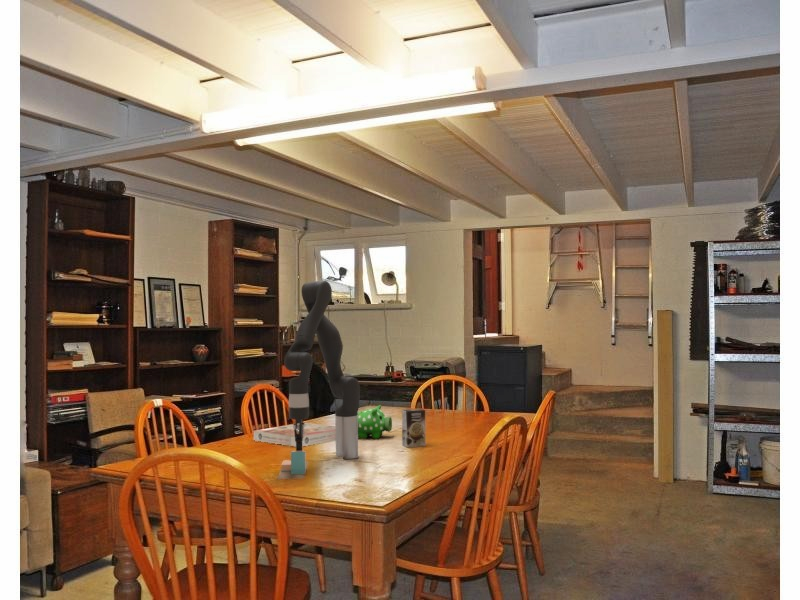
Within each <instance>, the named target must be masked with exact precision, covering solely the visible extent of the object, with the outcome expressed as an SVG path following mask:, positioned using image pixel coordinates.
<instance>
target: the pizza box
mask: <svg viewBox="0 0 800 600" xmlns="http://www.w3.org/2000/svg"><path fill="white" fill-rule="evenodd" d="M304 423H305V427H304V435H303V441H302V448H304V447H303V446H306V447H309V446H308V445H311V446H313V444H315V445H320V444H324V443H330V442H336V427H335V425H328V424H327V425H326V424H320V423H310V422H304ZM293 424H294V423H291V424H286V425H279V426H274V427H269V428H267V427H266V428H263V429H262V428H261V429H256V430H253V441H254V440H255V441H254V442H258V441H261V442H260V443H264V442H268V443H267V444H271V443H275V444H274V445H277V444H282V445H281V446H283V445H289V446H288V447H290V446H294V447H293V448H296V441H295V436H294V428H293ZM319 443H320V444H319Z"/></svg>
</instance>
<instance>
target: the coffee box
mask: <svg viewBox="0 0 800 600" xmlns="http://www.w3.org/2000/svg"><path fill="white" fill-rule="evenodd" d="M401 412H402V413H401V417H402V418H401V419H402V420H401V426H402V427H401V429H402V430H401V433H402V435H401V444H402V446H404V447H405V448H417V447H425V446H426V410H425V409H421V408H415V409H414V408H413V409H411V408H410V409H402V410H401Z"/></svg>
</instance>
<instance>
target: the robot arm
mask: <svg viewBox="0 0 800 600" xmlns="http://www.w3.org/2000/svg"><path fill="white" fill-rule="evenodd" d="M332 291H333V289H332V286H331V284H330V282H328V281H327V280H324V279H323V280H321V279H320V280H316V281H309V282H305V283H304V284H303V285H302V286H301V291H300V292H301V297H302V300H303V303H304V305H305V308H306V310H307V313H308V314H307V315H306V316H305V318H304V319H303V320H302V321H301V323H300V324H299V327H298V329H297V332H296V335H295V339H294V341H293V343H292V345H291V346H290V348H289V349H288V350H287V353H286V354H285V356H284V360H283V361H284V367H285V369H286V370H287V371H289V372H300V373H299V375H298V376H296V377H291V378H290V379H289V381H288V382H289V387H288V390H289V394H288V395H289V396H288V418H289V420H295V422H293V423H292V424H293V428H294V436H295V441H296V447H295V451H302V450H303V447H302V441H303V435H304V427H305V423H306V422H303V420H306V419H309V417H310V397H309V380H310V376H311V371H312V368H313V362H314V359H313V356H312V355H311V353H309V352H306V351H310V350H312V347H313V346H314V341H315V339H316V338H317V342H318V345H319V348H320V352H321V354H322V357H323V361H324V365H325V368H326V372H327V377H328V382H329V386H330V387H329V388H330V390H331V393H332V395H333V396H334V398H337V399H341V400H342V404H341V405H340V406H339V407H337V408H336V409H335V410H334V411H335V412H334V414H335V425H334V426H335V427H336V440H335V456H336V457H342V458H343V460H351V459H359V437H358V412H359V408H360V398H361V395H360V394H361V390H360V389H361V388H360V383H359V380H358V379H357V378H356V377H353V376H345V375H344V373H343V369H342V366H341V365H342V364H341V360H342V355H343V349H344V345H343V341H342V338H341V333H340V332H339V330H338V328H337V326H336V325H335V324H334V323H333V322H332V321H331V320H330V319H329V318H328V317H327V316H326V315H325V312H326V309H327V308H328V306H329V304H330V301H331V299H332V295H333V292H332ZM315 337H316V338H315Z"/></svg>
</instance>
